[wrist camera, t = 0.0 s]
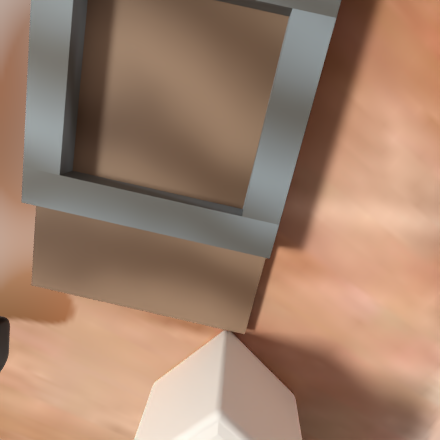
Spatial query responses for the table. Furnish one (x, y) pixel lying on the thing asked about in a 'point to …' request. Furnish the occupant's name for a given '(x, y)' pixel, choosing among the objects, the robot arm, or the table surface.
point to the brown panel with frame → (166, 146)
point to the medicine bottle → (220, 398)
